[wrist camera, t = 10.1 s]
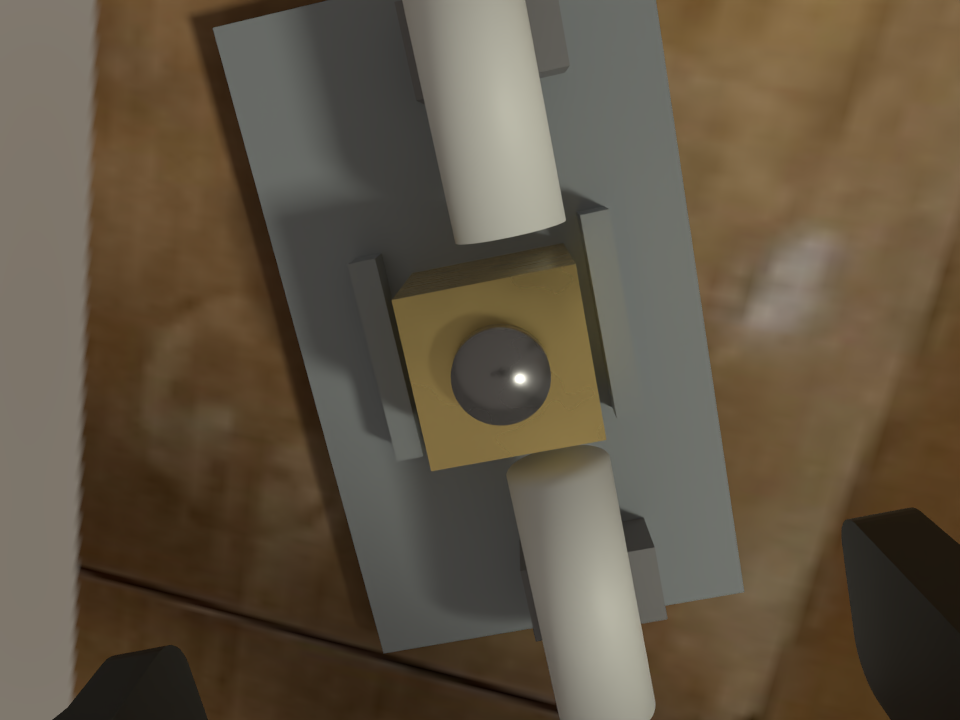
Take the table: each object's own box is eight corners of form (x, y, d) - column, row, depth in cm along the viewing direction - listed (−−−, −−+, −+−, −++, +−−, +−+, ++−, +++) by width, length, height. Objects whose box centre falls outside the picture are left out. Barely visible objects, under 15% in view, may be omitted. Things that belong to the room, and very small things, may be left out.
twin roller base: (738, 596, 27) (798, 711, 22) (393, 655, 28) (365, 779, 23) (634, -96, 22) (676, -178, 17) (217, 4, 23) (125, -42, 18)
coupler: (562, 242, 24) (577, 267, 19) (589, 388, 25) (609, 448, 20) (412, 273, 24) (387, 304, 19) (444, 415, 25) (429, 480, 20)
